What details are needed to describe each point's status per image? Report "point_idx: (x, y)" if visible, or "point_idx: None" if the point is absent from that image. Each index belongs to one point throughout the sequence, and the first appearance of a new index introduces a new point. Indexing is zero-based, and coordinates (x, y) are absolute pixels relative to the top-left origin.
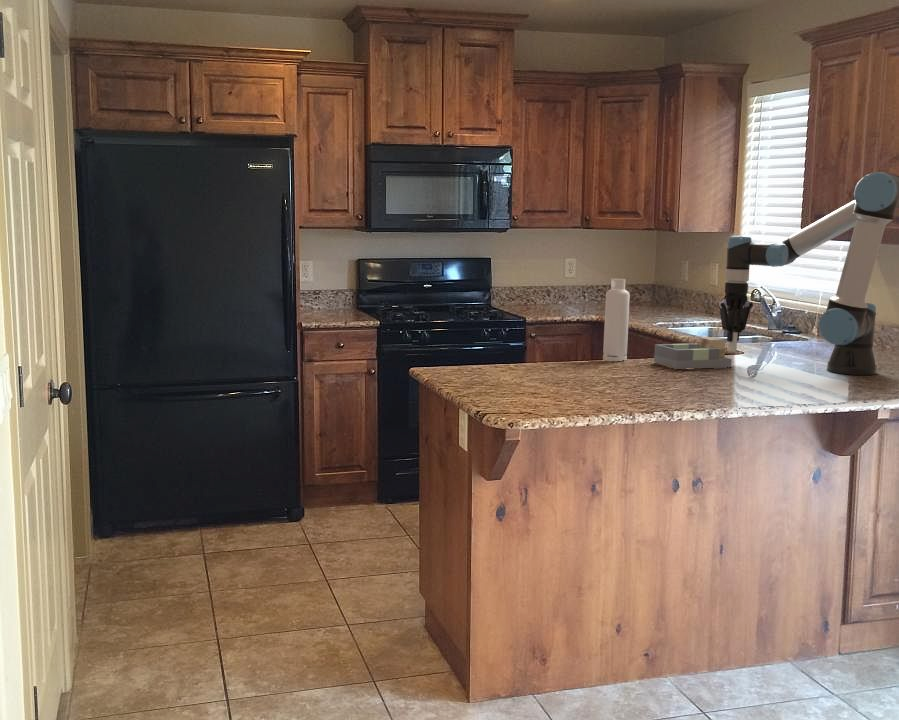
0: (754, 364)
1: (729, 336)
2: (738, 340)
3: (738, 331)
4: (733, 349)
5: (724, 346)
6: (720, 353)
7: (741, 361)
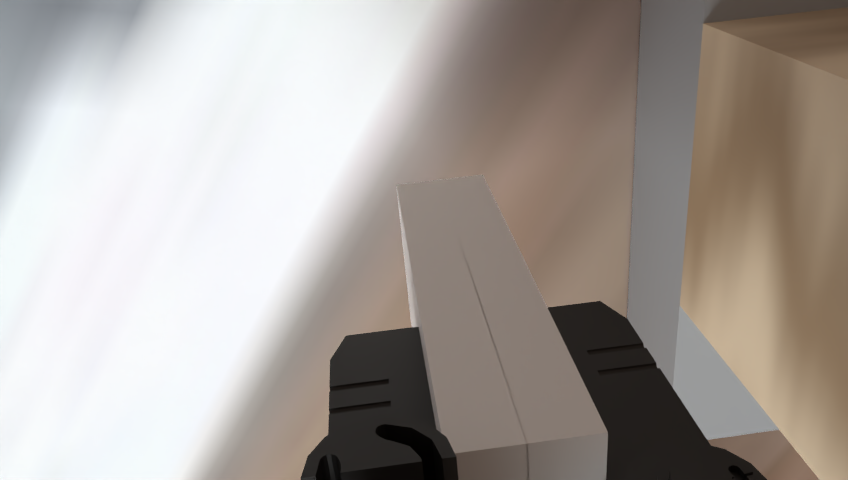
0: (50, 108)
1: (664, 389)
2: (341, 350)
3: (446, 456)
4: (474, 193)
5: (841, 68)
6: (835, 27)
7: (148, 368)
